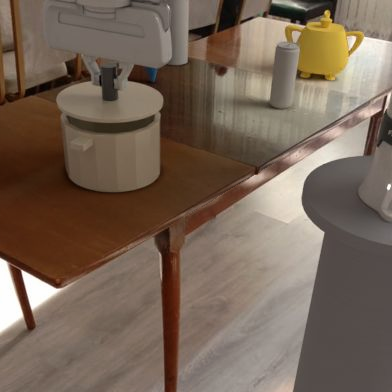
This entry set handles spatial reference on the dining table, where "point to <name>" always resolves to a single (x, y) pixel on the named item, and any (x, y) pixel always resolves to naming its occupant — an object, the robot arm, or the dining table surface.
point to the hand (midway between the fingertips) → (109, 87)
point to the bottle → (179, 31)
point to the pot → (112, 153)
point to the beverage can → (284, 74)
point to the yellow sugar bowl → (323, 47)
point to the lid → (109, 100)
